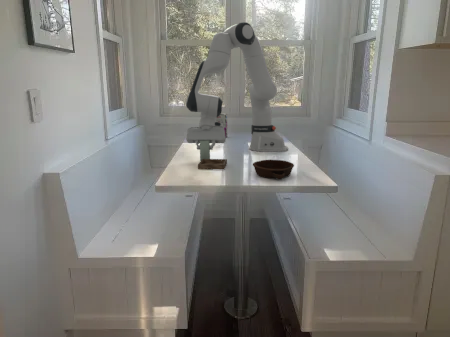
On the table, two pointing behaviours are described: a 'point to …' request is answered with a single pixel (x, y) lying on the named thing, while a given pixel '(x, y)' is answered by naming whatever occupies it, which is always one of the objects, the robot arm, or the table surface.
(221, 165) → the walnut tray
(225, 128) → the candy bar box
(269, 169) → the dish
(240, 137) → the table surface
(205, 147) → the sage ceramic canister
